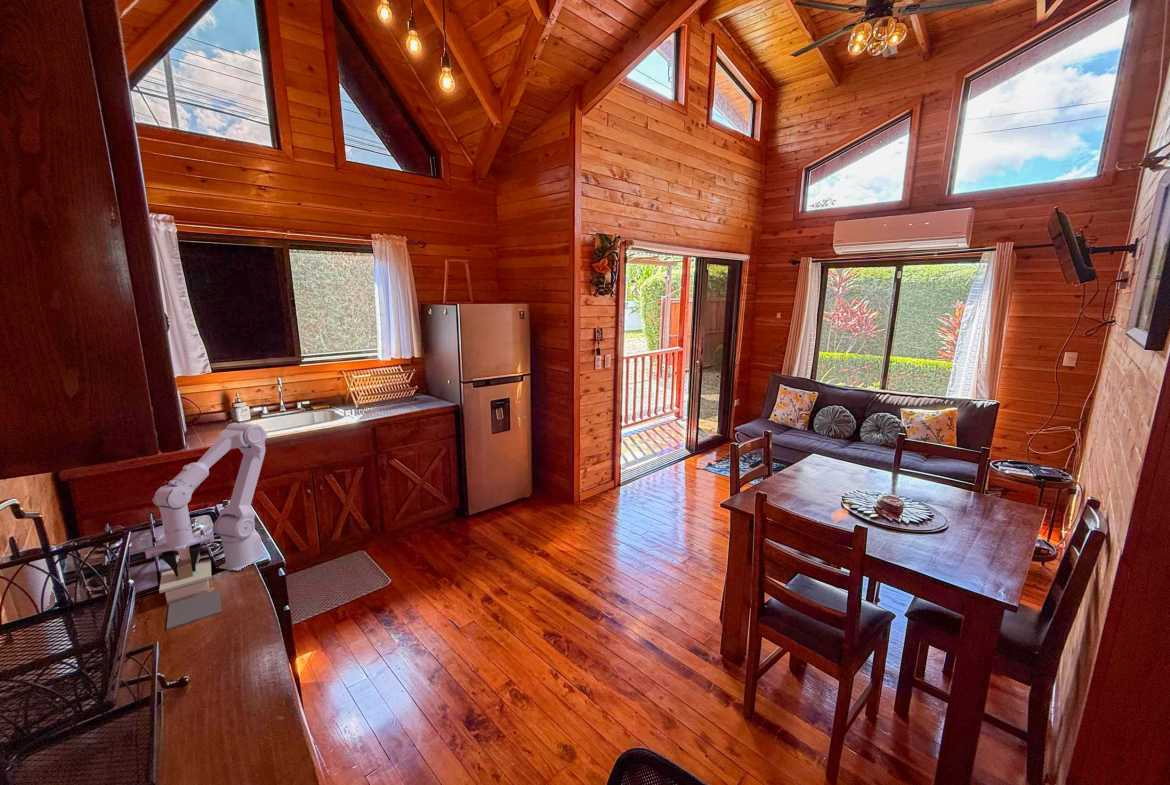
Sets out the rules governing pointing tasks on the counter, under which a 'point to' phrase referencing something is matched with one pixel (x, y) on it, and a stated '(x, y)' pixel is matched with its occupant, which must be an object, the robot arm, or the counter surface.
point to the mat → (194, 609)
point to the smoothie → (187, 552)
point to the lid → (185, 575)
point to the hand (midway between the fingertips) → (185, 572)
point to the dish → (187, 591)
